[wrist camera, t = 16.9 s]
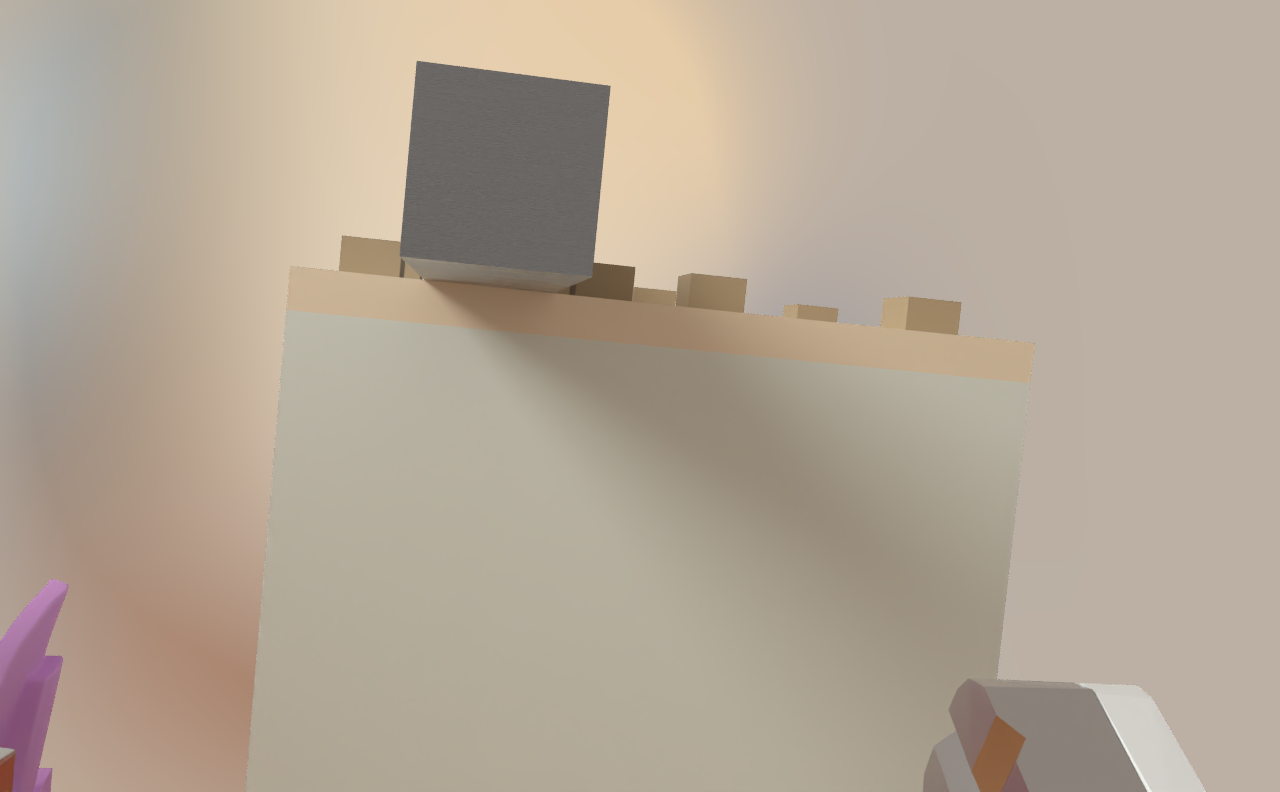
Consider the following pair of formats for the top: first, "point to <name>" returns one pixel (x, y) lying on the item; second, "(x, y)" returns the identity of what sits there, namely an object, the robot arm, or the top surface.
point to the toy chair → (30, 686)
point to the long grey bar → (503, 178)
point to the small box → (6, 769)
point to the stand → (625, 536)
